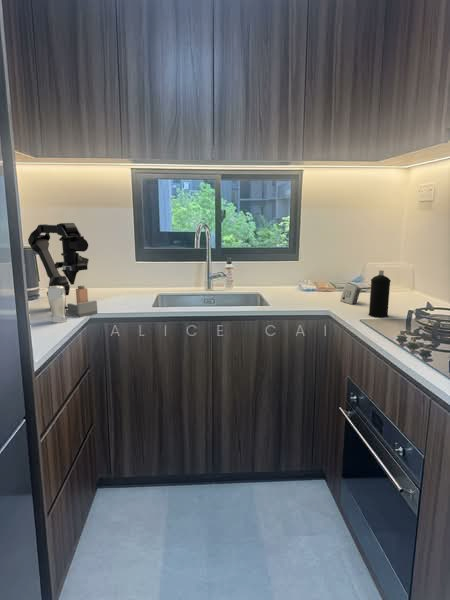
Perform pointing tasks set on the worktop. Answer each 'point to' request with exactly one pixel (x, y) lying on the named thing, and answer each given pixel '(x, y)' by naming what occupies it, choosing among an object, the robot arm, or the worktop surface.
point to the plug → (81, 294)
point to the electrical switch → (350, 294)
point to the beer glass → (57, 303)
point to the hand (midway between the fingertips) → (72, 284)
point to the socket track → (82, 309)
